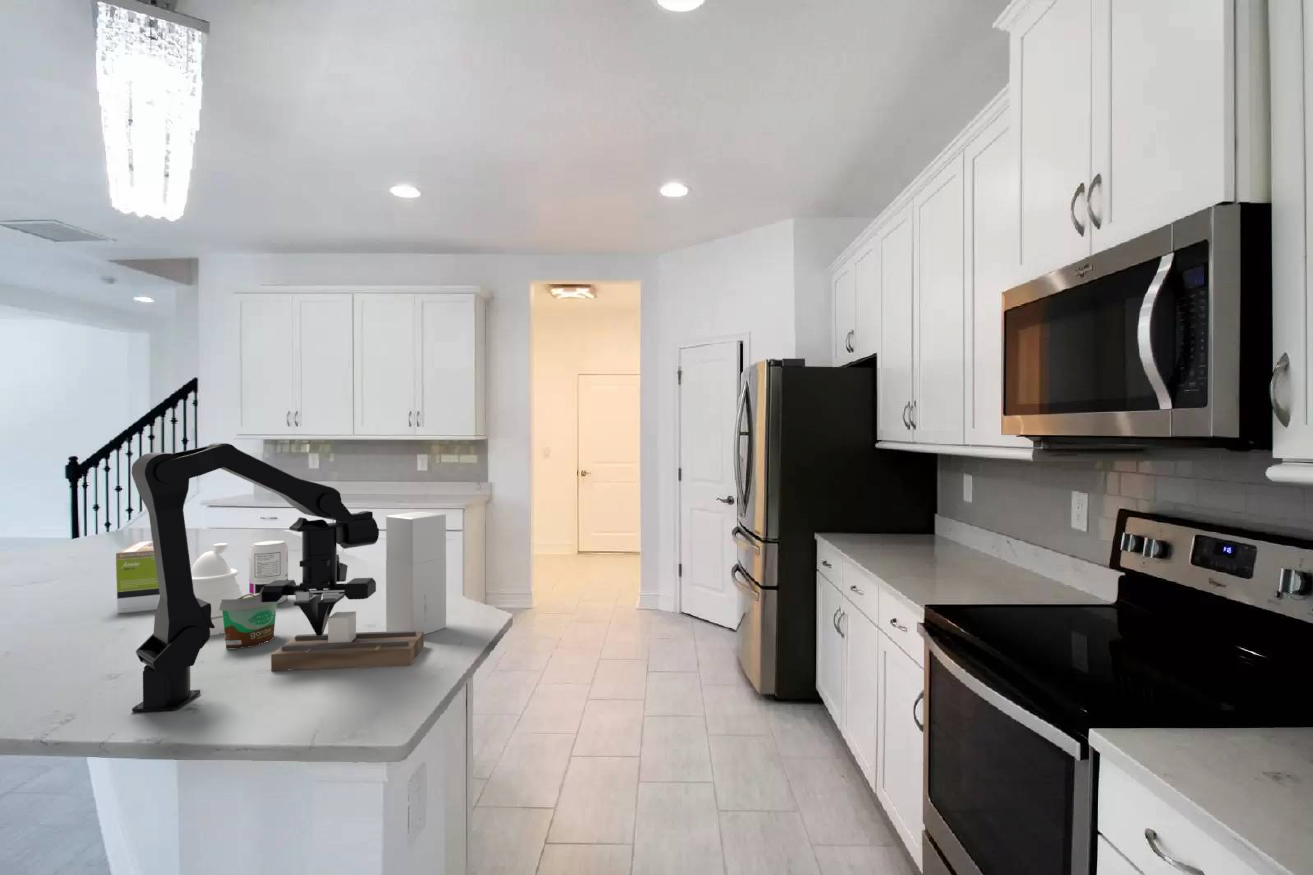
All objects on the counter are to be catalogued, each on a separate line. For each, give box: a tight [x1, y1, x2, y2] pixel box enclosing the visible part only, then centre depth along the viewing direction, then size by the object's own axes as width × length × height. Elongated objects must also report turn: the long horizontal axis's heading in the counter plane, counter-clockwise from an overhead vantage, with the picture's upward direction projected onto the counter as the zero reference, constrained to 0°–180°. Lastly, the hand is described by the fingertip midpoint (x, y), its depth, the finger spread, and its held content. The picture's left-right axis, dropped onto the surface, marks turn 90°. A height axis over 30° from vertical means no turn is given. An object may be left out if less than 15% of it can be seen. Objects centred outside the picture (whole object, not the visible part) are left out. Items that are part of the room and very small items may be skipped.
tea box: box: [115, 540, 160, 614], centre depth 156 cm, size 15×10×15 cm
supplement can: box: [248, 539, 289, 605], centre depth 157 cm, size 8×8×15 cm
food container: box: [219, 592, 278, 649], centre depth 128 cm, size 12×6×10 cm, turn 168°
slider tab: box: [327, 611, 357, 643], centre depth 119 cm, size 4×4×5 cm
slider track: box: [270, 630, 425, 672], centre depth 119 cm, size 10×24×4 cm, turn 97°
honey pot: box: [191, 542, 243, 636], centre depth 137 cm, size 13×13×18 cm
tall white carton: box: [385, 511, 447, 636], centre depth 136 cm, size 9×9×25 cm
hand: (319, 635), depth 118 cm, fingers closed
